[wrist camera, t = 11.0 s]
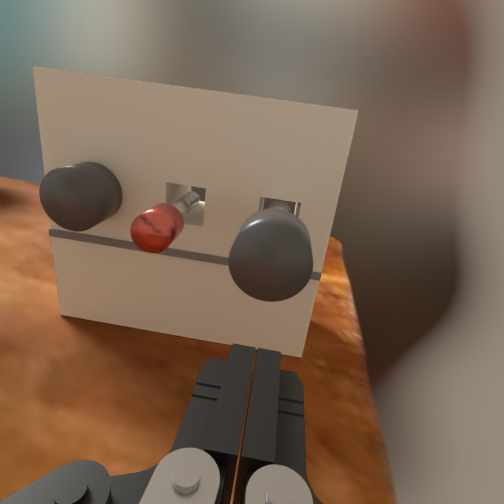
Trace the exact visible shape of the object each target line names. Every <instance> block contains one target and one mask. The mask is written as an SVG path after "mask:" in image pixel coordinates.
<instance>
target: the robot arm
mask: <svg viewBox="0 0 504 504" xmlns="http://www.w3.org/2000/svg"><path fill="white" fill-rule="evenodd" d="M255 348H256V347H251V346H245V345H240V344H234V343H233V344H232V347H231V351H230V354H229V358H228V360H224V359H219V358H213V357H212V358H211V359H210V360H209V361H208V362H207V363H206V364H205V365H204V366H203V367H202V368H201V370H200V373H199V376H198V378H197V381H196V385H195V387H194V389H193V392H192V396H191V398H190V400H189V403H188V406H187V409H186V411H185V414H184V417H183V420H182V422H181V425H180V428H179V431H178V433H177V436H176V439H175V442H174V444H173V446H172V449H171V450H170V452H169V453H168V454H167V455H166V456H165V457H164V458H163V459H162V460H161V461H160V462H159V463H158V464H156V465H155V466H153V467H151V468H149V469H147V470H144V471H142V472H137V473H131V474H124V475H117V476H109V474H108V472H107V470H106V469H105V468H104V467H103V466H102V465H101V464H99V463H97V462H95V461H91V460H78V461H73V462H70V463H67V464H64V465H63V466H61V467H59V468H57V469H55V470H53V471H52V472H50V473H48V474H47V475H45V476H43V477H41V478H40V479H38V480H36V481H35V482H33V483H31V484H29V485H28V486H26V487H24V488H22V489H21V490H19V491H17V492H16V493H14V494H12V495H10V496H9V497H7V498H5V499H4V500H2V501H0V504H230V500H231V494H232V488H233V482H234V476H235V470H236V464H237V458H238V452H239V445H240V439H241V433H242V427H243V421H244V415H245V409H246V403H247V397H248V391H249V384H250V378H251V372H252V366H253V360H254V354H255ZM280 362H281V352H279V351H274V350H268V349H262V348H258V349H257V355H256V361H255V367H254V373H253V379H252V385H251V391H250V397H249V403H248V409H247V416H246V422H245V428H244V435H243V441H242V448H241V454H240V460H239V467H238V473H237V479H236V486H235V492H234V499H233V504H322V503H321V502H320V501H319V499H318V498H317V497H316V495H315V494H314V492H313V491H312V489H311V487H310V484H309V482H308V478H307V474H306V454H305V423H304V405H303V404H304V393H303V385H302V383H301V381H300V379H299V377H298V376H297V374H296V372H291V371H285V370H280Z"/></svg>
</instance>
